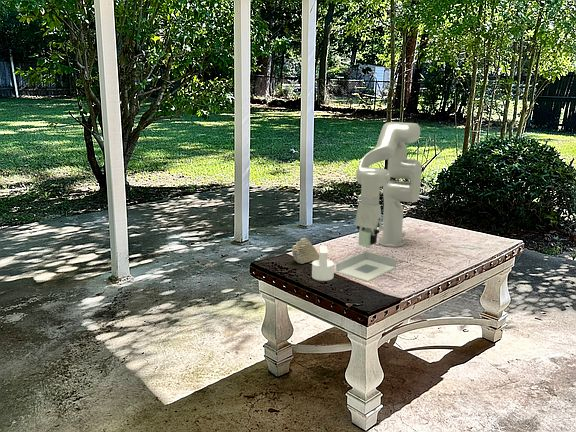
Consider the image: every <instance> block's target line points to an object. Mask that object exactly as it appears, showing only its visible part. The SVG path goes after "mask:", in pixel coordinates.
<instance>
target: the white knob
mask: <svg viewBox="0 0 576 432" xmlns="http://www.w3.org/2000/svg"><path fill="white" fill-rule="evenodd" d="M318 248H319V252H318V253H319V259H318V260H314V261H311V277H312V279H314V280H316V281H319V282H321V281H322V282H327V281H331V280H333V279H334V276H335V275H334V274H335V270H334V269H335V263H334V261H331V260H330V259H328V247H327V245H320V246H319V247H318Z"/></svg>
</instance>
